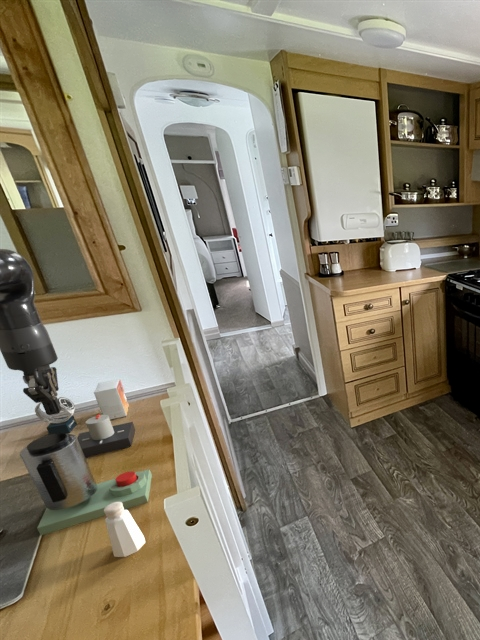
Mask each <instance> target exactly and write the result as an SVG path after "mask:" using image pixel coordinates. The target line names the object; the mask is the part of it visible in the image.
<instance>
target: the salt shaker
mask: <svg viewBox="0 0 480 640" xmlns="http://www.w3.org/2000/svg"><path fill="white" fill-rule="evenodd" d="M104 513H106V515H105V516H106V518H104V520H105V525H106V530H107V534H108V538H109V542H110V545H111V550H112V554H113V558H126V557H128V556H131V555H133V554H135V553H137V552H138V551H140V549H141V548H142V547H143V546H144V545H145V544H146V543H147V542H146V539H145V536H144V534H143V532H142V531H141V529H140V527H139V526H138V524H137V523H136V521H135V519H134V518H133V516H132V514H131V512H130V511H129V510H128V509H124V507H123V504H122V502H114V503H111V504H109V505H108V506H106V507H105V509H104Z"/></svg>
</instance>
